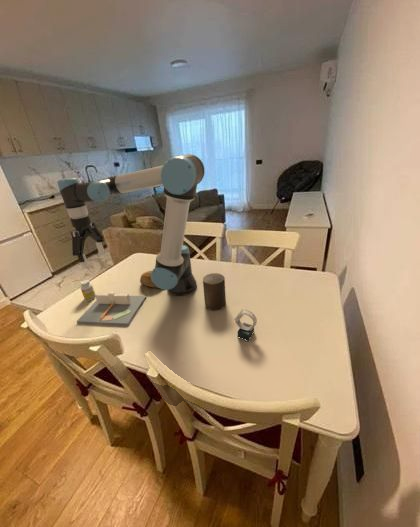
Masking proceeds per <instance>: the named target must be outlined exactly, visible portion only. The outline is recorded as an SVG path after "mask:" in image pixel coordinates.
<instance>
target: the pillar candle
mask: <svg viewBox="0 0 420 527" xmlns="http://www.w3.org/2000/svg"><path fill="white" fill-rule="evenodd" d="M225 279H226V278H225V276H224V275H223V274H221V273H217V272H216V273H215V272H214V273H213V272H211V273H209V274H206V275H204V276H203V277H202V284H203V296H204V305H205V307H206V308H207V309H208V310H211V311H218V310H222V309H224V308H225V307H226V304H227V300H226V298H227V297H226V281H225Z"/></svg>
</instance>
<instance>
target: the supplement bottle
mask: <svg viewBox="0 0 420 527" xmlns="http://www.w3.org/2000/svg"><path fill="white" fill-rule="evenodd" d="M90 282H91V281H90V280H89V279H84V280H82V281H80V290H81V293H82V296H83V298H84V300H85V301H87V302H88V301H92V300H95V299H96V297H95V295H96V291H95V289H94V287H93V284H92V283H90Z"/></svg>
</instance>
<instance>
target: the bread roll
mask: <svg viewBox="0 0 420 527" xmlns="http://www.w3.org/2000/svg"><path fill="white" fill-rule="evenodd" d="M151 272H152V270H148V271H145V272H143V273H142V274H141V276H140V279H139V282H140V284H141V285H142V286H145V287H150V288H156V289H157V288H158V287H157V286H156V285H155V284H154V283H153V282H152V280H151ZM158 289H159V288H158Z"/></svg>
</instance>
